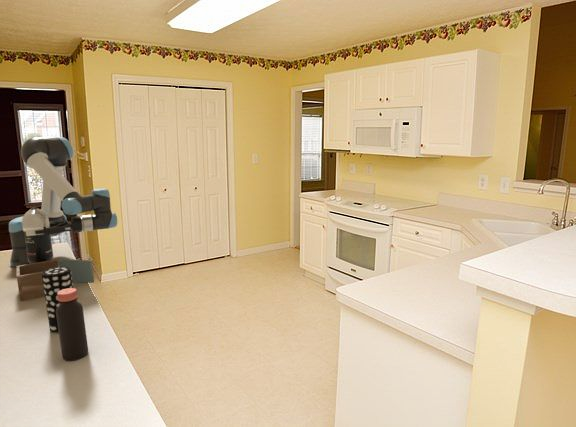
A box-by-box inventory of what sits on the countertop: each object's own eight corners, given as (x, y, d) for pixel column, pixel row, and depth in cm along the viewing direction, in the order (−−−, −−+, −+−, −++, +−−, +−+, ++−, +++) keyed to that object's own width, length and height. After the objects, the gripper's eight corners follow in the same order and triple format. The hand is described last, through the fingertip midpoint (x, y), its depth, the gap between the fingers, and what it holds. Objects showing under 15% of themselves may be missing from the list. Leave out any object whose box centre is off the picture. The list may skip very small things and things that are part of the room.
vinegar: (82, 346, 122) (74, 284, 118) (92, 353, 118) (84, 290, 114) (58, 356, 117) (49, 292, 113) (68, 364, 113) (59, 298, 109)
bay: (20, 288, 170) (16, 266, 168) (60, 280, 178) (57, 259, 176) (20, 301, 157) (16, 276, 155) (63, 292, 165) (60, 269, 163)
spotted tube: (51, 324, 137) (43, 268, 133) (78, 319, 140) (71, 265, 136) (48, 335, 129) (39, 276, 125) (77, 329, 133) (69, 272, 129)
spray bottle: (42, 265, 175) (34, 209, 170) (22, 264, 177) (13, 209, 172) (59, 258, 185) (52, 205, 180) (40, 257, 187) (33, 204, 182)
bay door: (62, 281, 178) (59, 259, 176) (63, 280, 179) (60, 258, 177) (92, 282, 175) (90, 261, 173) (94, 282, 176) (91, 260, 174)
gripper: (86, 236, 179) (27, 244, 167) (79, 226, 198) (26, 233, 186) (84, 220, 178) (24, 227, 166) (77, 212, 196) (23, 217, 184)
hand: (25, 230), depth 176 cm, fingers closed on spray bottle, 10 cm apart
